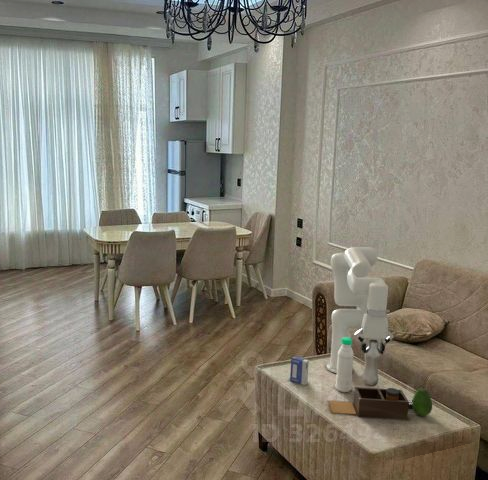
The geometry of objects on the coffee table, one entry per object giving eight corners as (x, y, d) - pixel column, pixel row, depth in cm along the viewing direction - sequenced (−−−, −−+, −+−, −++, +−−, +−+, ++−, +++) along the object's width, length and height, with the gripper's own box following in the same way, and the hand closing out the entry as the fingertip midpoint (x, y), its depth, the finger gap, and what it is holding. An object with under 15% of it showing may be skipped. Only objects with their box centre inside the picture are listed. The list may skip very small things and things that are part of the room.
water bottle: (351, 393, 247) (355, 342, 242) (335, 391, 249) (339, 340, 244) (350, 386, 254) (354, 336, 249) (334, 384, 255) (338, 335, 250)
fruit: (435, 419, 226) (438, 393, 223) (417, 420, 224) (420, 394, 222) (424, 409, 233) (427, 384, 231) (407, 411, 232) (410, 385, 230)
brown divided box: (353, 403, 238) (354, 386, 236) (399, 406, 236) (401, 389, 234) (358, 416, 227) (359, 399, 226) (407, 419, 225) (409, 402, 224)
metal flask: (380, 387, 228) (385, 343, 223) (365, 389, 227) (370, 344, 222) (373, 380, 234) (377, 337, 230) (358, 381, 233) (362, 338, 229)
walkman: (290, 380, 259) (291, 357, 257) (292, 378, 261) (293, 355, 259) (305, 385, 255) (306, 361, 252) (307, 383, 257) (309, 359, 255)
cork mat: (328, 401, 240) (328, 400, 239) (351, 403, 239) (351, 402, 238) (332, 413, 230) (332, 412, 230) (356, 414, 229) (356, 413, 229)
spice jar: (383, 408, 234) (385, 387, 232) (395, 409, 233) (397, 388, 231) (386, 414, 229) (388, 393, 227) (398, 415, 228) (400, 393, 226)
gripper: (395, 310, 226) (391, 349, 230) (353, 308, 228) (349, 347, 232) (400, 316, 219) (396, 357, 223) (356, 314, 220) (353, 354, 224)
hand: (372, 351), depth 227 cm, fingers closed on metal flask, 6 cm apart
